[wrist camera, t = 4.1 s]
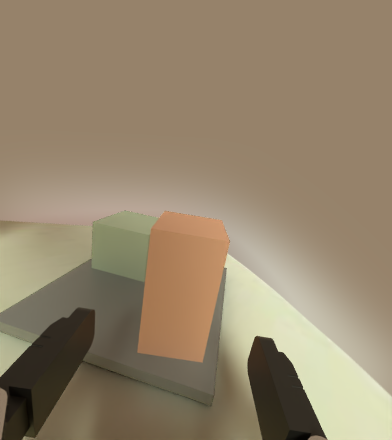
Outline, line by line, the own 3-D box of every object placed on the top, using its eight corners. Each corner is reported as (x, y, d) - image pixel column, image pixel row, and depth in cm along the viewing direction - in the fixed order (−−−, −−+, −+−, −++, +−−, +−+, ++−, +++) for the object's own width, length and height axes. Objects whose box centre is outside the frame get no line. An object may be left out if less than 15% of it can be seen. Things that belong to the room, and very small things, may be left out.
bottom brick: (91, 267, 24) (92, 221, 23) (122, 247, 31) (125, 210, 30) (143, 282, 23) (149, 235, 22) (164, 257, 30) (169, 220, 29)
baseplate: (-8, 328, 16) (-10, 318, 16) (118, 247, 33) (119, 241, 33) (211, 406, 13) (213, 395, 13) (225, 274, 30) (226, 268, 30)
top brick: (137, 352, 15) (150, 228, 12) (152, 307, 20) (164, 210, 17) (202, 362, 15) (229, 241, 12) (202, 314, 20) (221, 220, 17)
